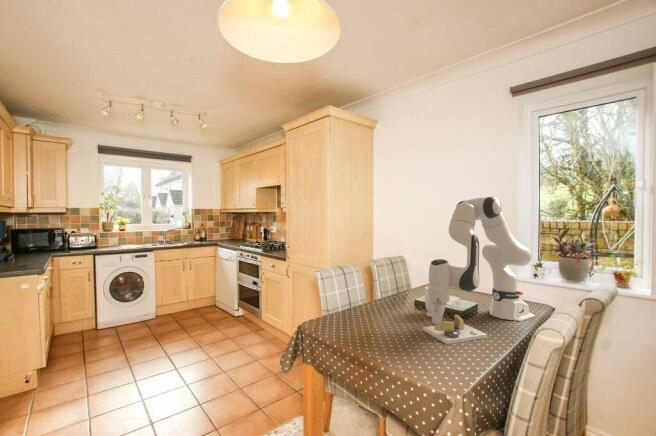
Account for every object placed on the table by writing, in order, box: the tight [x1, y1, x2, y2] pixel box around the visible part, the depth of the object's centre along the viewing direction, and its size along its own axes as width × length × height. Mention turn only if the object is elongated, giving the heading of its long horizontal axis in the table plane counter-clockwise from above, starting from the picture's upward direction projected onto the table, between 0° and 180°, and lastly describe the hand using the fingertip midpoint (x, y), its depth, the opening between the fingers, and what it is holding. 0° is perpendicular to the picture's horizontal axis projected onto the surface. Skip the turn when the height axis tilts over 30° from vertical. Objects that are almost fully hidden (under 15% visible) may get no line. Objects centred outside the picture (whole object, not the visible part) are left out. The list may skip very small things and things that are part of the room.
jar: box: [424, 285, 433, 318], centre depth 164 cm, size 11×10×15 cm
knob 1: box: [434, 320, 459, 338], centre depth 134 cm, size 10×6×6 cm, turn 68°
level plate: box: [422, 323, 488, 345], centre depth 139 cm, size 22×16×2 cm
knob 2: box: [453, 314, 465, 329], centre depth 141 cm, size 10×6×6 cm, turn 174°
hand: (438, 327), depth 136 cm, fingers closed
